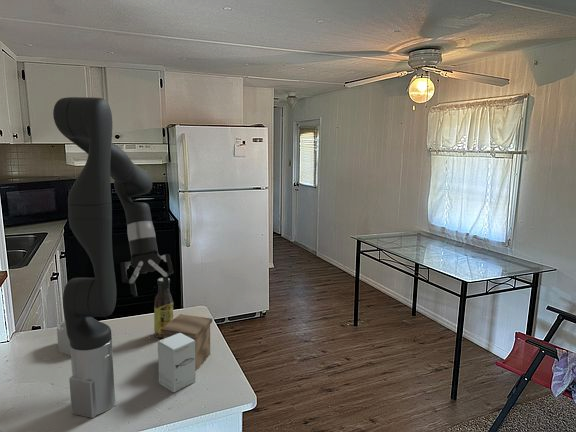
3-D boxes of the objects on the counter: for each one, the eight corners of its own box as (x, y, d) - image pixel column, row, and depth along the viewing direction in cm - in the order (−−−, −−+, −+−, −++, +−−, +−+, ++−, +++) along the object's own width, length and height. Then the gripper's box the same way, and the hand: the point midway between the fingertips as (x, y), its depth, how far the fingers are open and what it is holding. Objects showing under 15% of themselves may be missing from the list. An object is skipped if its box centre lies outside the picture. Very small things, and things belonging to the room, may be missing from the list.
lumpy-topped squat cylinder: (83, 357, 126) (81, 330, 124) (49, 350, 129) (46, 324, 128) (106, 341, 136) (105, 317, 134) (74, 336, 139) (72, 311, 138)
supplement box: (173, 393, 109) (172, 349, 106) (158, 382, 113) (156, 340, 111) (196, 382, 114) (195, 340, 112) (180, 372, 119) (179, 331, 117)
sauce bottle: (161, 340, 137) (160, 284, 134) (150, 335, 141) (148, 279, 137) (177, 333, 142) (176, 279, 139) (166, 328, 146) (165, 275, 142)
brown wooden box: (196, 372, 119) (195, 334, 116) (162, 366, 121) (161, 329, 119) (212, 354, 129) (212, 318, 127) (181, 349, 132) (180, 314, 130)
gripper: (114, 241, 115) (123, 299, 113) (166, 232, 119) (176, 288, 117) (118, 244, 122) (127, 298, 120) (167, 235, 126) (176, 287, 124)
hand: (151, 293), depth 119 cm, fingers open, 8 cm apart
